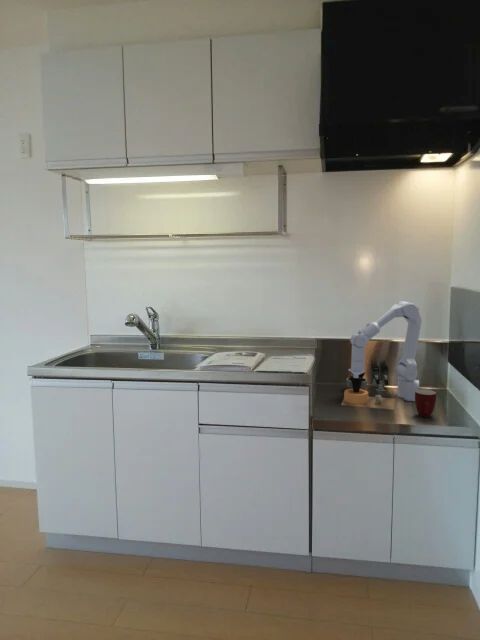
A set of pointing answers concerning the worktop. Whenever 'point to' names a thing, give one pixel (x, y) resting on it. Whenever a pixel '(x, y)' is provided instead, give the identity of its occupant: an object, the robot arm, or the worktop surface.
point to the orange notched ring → (356, 396)
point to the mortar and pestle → (363, 385)
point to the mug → (425, 402)
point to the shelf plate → (372, 404)
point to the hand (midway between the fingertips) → (357, 390)
